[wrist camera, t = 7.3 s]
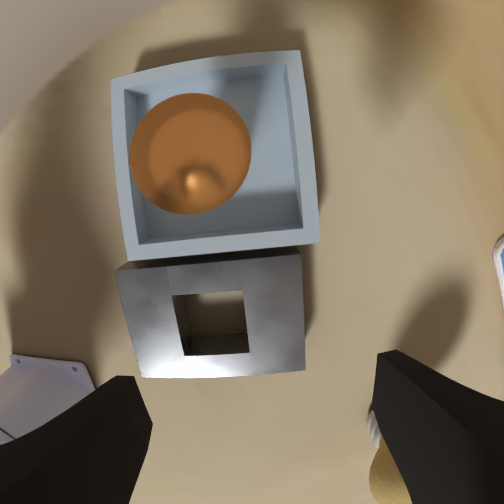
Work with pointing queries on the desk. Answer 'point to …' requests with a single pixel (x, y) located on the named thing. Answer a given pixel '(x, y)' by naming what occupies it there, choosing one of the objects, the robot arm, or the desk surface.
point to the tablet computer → (499, 264)
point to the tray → (261, 167)
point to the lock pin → (190, 153)
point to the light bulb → (385, 471)
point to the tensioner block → (209, 281)
